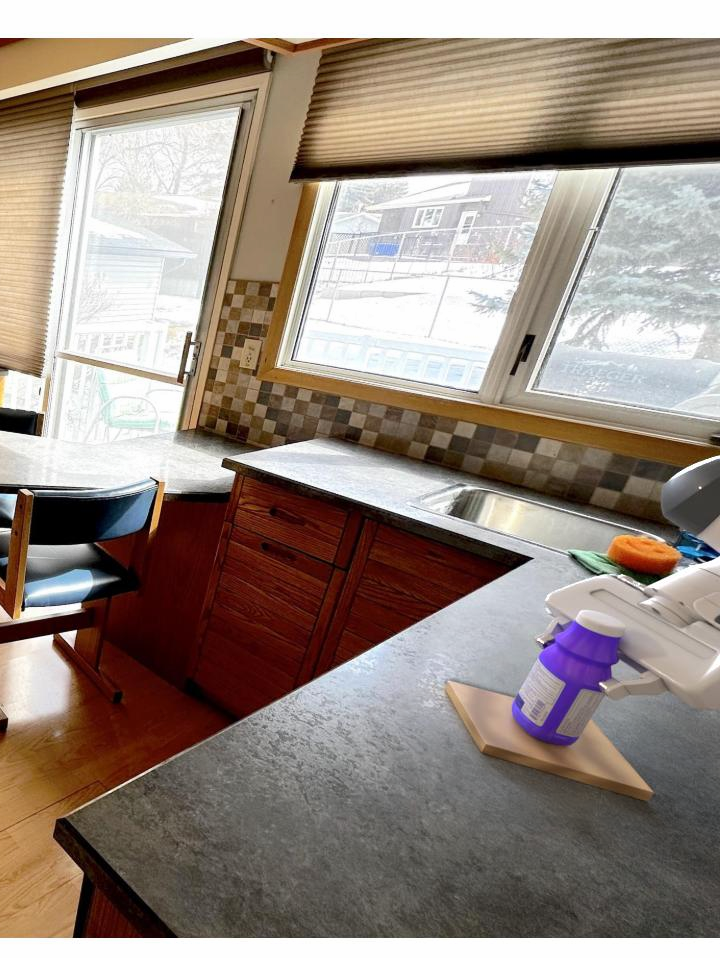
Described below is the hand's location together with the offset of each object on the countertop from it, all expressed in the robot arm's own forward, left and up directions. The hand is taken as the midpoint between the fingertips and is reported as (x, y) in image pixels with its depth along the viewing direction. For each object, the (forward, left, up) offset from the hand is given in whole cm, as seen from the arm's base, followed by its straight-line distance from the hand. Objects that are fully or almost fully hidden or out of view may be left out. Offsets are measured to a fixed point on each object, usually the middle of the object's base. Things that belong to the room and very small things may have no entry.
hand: (570, 667), depth 77 cm
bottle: (-1, 0, -10) cm, 10 cm away
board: (-1, 0, -11) cm, 11 cm away
